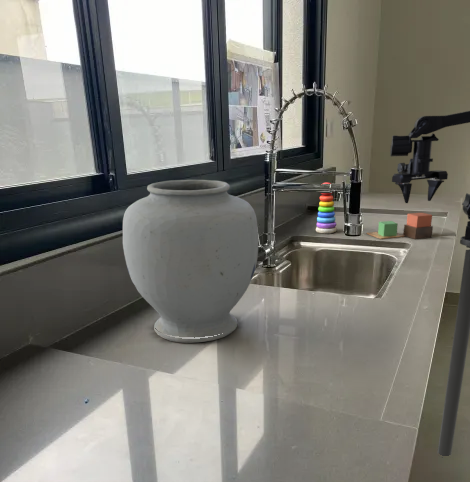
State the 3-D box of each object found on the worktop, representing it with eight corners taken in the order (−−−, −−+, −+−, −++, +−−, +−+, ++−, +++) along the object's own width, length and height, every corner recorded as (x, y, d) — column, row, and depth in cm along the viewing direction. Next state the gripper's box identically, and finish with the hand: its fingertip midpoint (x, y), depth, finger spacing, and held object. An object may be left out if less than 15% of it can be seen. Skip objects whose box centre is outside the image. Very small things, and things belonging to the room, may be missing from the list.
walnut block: (419, 233, 184) (420, 223, 183) (431, 237, 178) (432, 226, 177) (403, 235, 183) (404, 224, 181) (414, 239, 176) (416, 228, 175)
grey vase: (274, 311, 113) (273, 176, 102) (234, 362, 90) (228, 193, 79) (169, 301, 122) (158, 175, 111) (108, 345, 99) (87, 191, 88)
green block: (390, 233, 185) (391, 221, 183) (396, 235, 180) (397, 223, 179) (377, 233, 185) (378, 221, 183) (383, 236, 180) (384, 224, 178)
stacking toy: (320, 229, 197) (321, 180, 191) (339, 230, 193) (341, 181, 187) (312, 233, 191) (313, 183, 184) (332, 234, 187) (334, 183, 180)
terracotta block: (420, 223, 182) (421, 212, 181) (431, 226, 177) (432, 215, 176) (406, 224, 181) (407, 213, 179) (416, 227, 175) (417, 216, 174)
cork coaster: (389, 231, 190) (389, 230, 189) (405, 236, 181) (405, 235, 181) (366, 233, 187) (366, 232, 187) (381, 239, 178) (381, 238, 178)
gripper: (430, 152, 178) (426, 197, 184) (384, 156, 174) (381, 201, 179) (451, 154, 168) (446, 200, 174) (403, 157, 164) (399, 205, 169)
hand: (417, 201), depth 174 cm, fingers open, 9 cm apart
